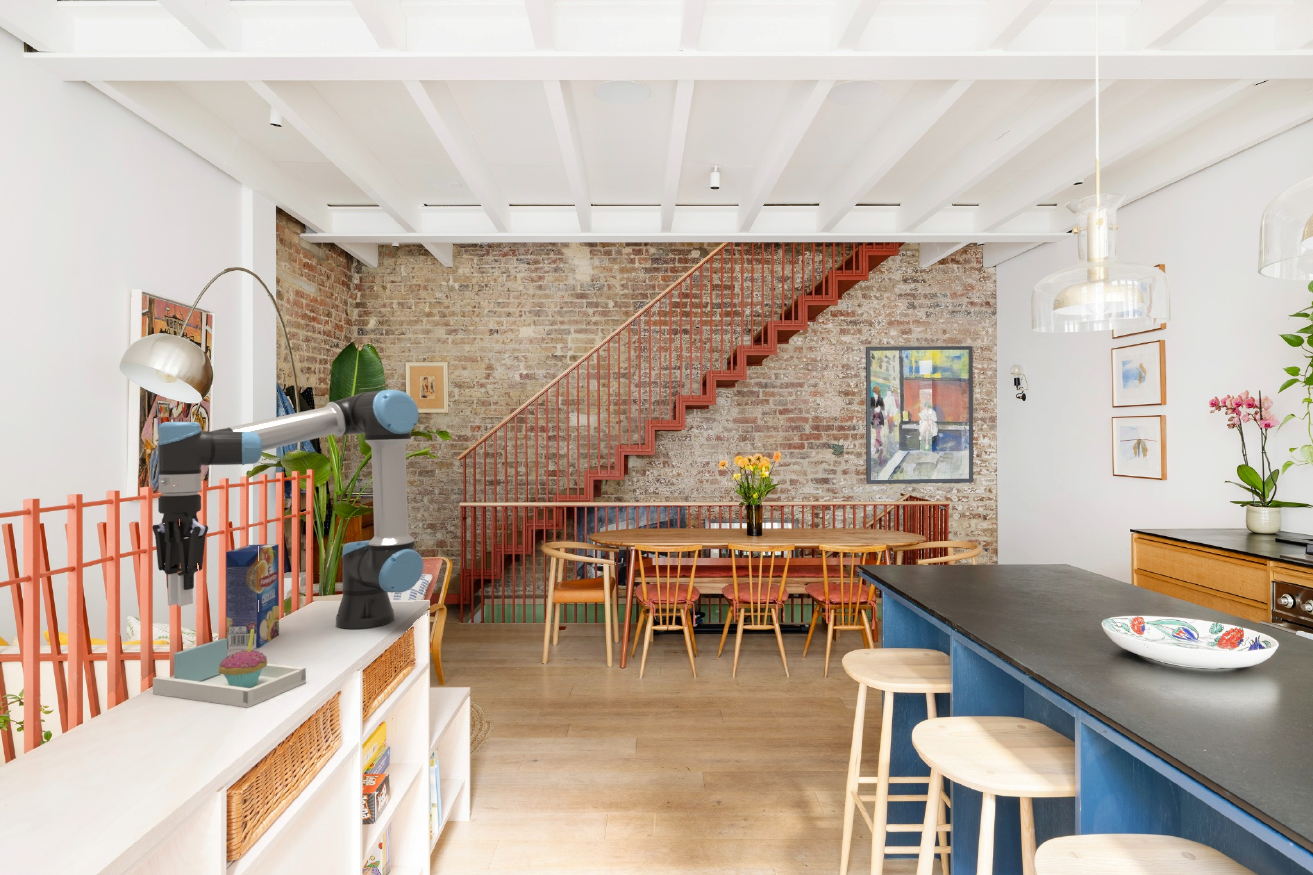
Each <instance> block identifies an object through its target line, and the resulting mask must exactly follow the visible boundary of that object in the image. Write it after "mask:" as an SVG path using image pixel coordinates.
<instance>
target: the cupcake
mask: <svg viewBox="0 0 1313 875" xmlns="http://www.w3.org/2000/svg"><path fill="white" fill-rule="evenodd" d="M253 629H254V626H253ZM253 629H252V630H251V632H250V638H249V645H248V649H241V650H239V651H236V652H235V653H232V654H230V655H227V658H225V659H224V660H222V662H221V663H220V664H219V665H220V667H219V670H218V671H219V673H220V674H223V675H224V676H225V677H226V679H227V681H228V684H229V686H236V687H244V688H251V687H254V686H255V685H256V684H257V682H258V679H259V676H260V673H261V671H262V669H263V668H264V667H266V666H267V663H268V660H267V658H268V657H267V656H266V655H265V654H264V653H263V652H261V651H259V650H254V649H252V642H253V635H254V630H253Z"/></svg>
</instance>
